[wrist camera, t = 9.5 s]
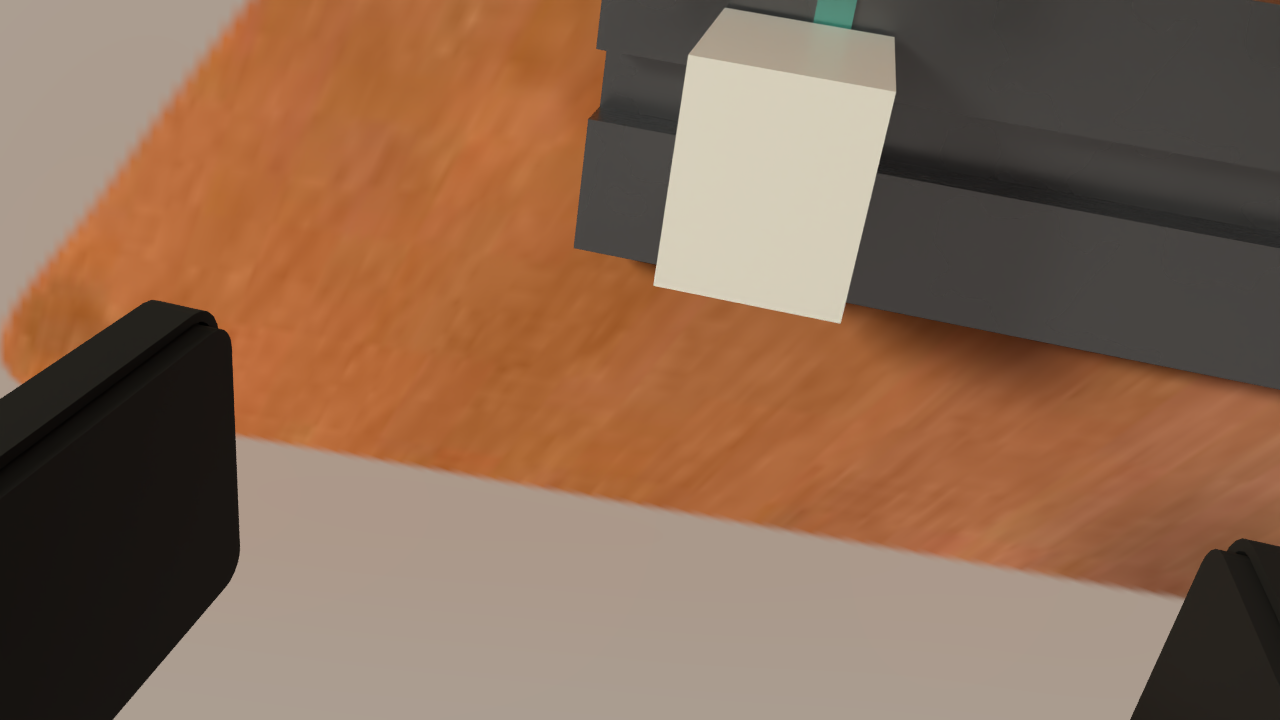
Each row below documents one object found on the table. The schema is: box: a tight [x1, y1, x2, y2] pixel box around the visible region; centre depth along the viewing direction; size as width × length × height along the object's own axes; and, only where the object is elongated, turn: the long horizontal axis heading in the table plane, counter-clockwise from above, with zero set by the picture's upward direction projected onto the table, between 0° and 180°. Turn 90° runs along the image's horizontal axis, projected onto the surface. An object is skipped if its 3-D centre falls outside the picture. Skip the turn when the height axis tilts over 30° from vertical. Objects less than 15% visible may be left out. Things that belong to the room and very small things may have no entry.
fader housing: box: [574, 0, 1280, 390], centre depth 25 cm, size 22×8×2 cm, turn 82°
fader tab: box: [653, 8, 896, 324], centre depth 23 cm, size 4×4×6 cm
